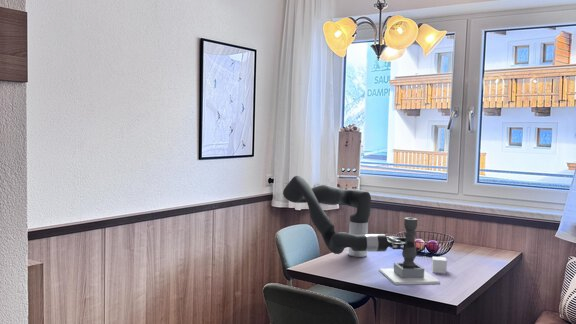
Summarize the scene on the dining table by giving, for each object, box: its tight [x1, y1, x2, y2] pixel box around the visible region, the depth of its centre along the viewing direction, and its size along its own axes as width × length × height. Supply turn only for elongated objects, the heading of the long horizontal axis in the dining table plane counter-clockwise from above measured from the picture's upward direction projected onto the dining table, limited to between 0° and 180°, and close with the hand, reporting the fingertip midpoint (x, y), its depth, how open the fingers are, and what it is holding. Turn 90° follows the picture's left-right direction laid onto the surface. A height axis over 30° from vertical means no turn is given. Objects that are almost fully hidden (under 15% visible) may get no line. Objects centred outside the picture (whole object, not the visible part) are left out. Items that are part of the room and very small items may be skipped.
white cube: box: [431, 256, 448, 274], centre depth 240 cm, size 6×6×6 cm
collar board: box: [378, 262, 441, 286], centre depth 229 cm, size 20×20×5 cm
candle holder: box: [401, 217, 419, 269], centre depth 229 cm, size 6×6×25 cm
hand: (410, 242), depth 228 cm, fingers open, 8 cm apart
